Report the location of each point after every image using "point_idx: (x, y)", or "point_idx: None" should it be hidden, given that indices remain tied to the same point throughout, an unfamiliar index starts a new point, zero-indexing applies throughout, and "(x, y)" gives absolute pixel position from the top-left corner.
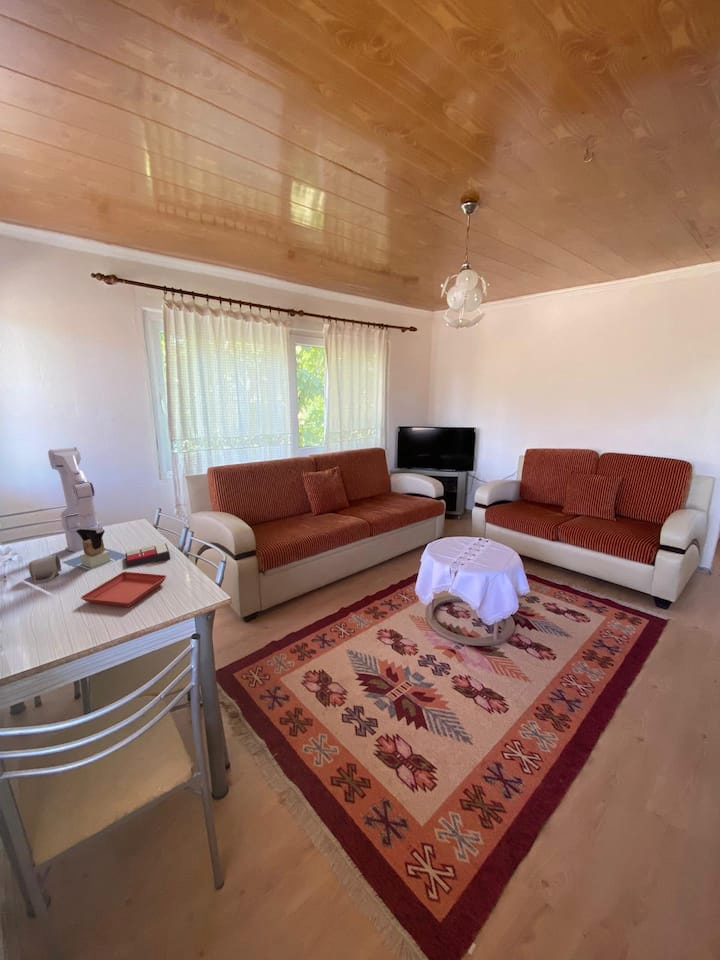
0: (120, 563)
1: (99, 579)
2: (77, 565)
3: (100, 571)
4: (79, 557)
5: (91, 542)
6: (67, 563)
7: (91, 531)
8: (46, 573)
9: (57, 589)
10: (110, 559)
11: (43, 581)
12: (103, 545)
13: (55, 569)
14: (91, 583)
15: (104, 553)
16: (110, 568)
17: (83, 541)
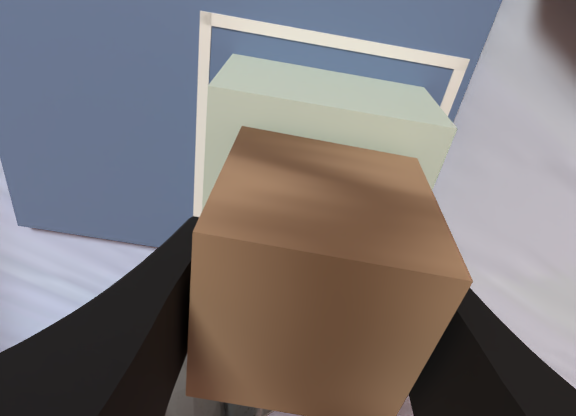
0: (552, 68)
1: (564, 311)
2: None
3: (473, 235)
4: (24, 119)
5: (391, 403)
6: (89, 230)
7: (115, 412)
8: (228, 410)
9: (400, 411)
10: (394, 59)
11: (269, 411)
12: (434, 206)
13: (260, 408)
14: (546, 349)
15: (436, 178)
16: (522, 178)
17: (207, 391)
